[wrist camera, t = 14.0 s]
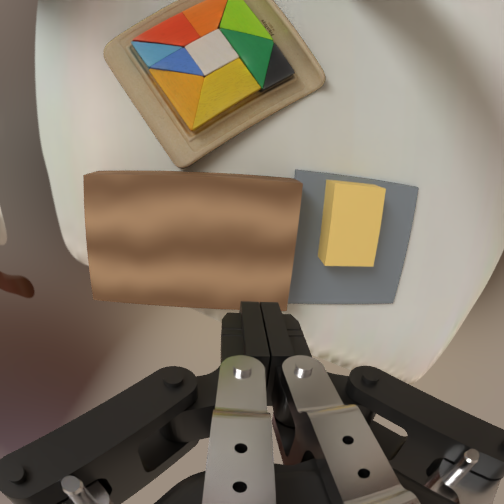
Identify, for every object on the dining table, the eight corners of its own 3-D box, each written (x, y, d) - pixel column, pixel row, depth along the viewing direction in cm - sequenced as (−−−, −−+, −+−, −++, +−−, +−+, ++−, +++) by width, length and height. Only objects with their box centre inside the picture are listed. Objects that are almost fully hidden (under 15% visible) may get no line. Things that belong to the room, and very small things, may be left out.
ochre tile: (385, 188, 31) (374, 184, 34) (335, 183, 31) (326, 179, 33) (373, 266, 34) (363, 257, 37) (324, 265, 34) (317, 256, 36)
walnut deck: (98, 170, 31) (83, 175, 28) (294, 178, 34) (303, 183, 30) (104, 284, 36) (93, 299, 32) (280, 294, 38) (286, 310, 34)
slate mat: (295, 169, 33) (296, 170, 33) (416, 186, 35) (418, 187, 34) (279, 301, 39) (280, 303, 38) (391, 301, 40) (392, 303, 40)
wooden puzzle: (325, 85, 31) (336, 80, 27) (180, 172, 33) (175, 175, 30) (243, -27, 25) (244, -41, 22) (102, 55, 27) (91, 48, 24)
